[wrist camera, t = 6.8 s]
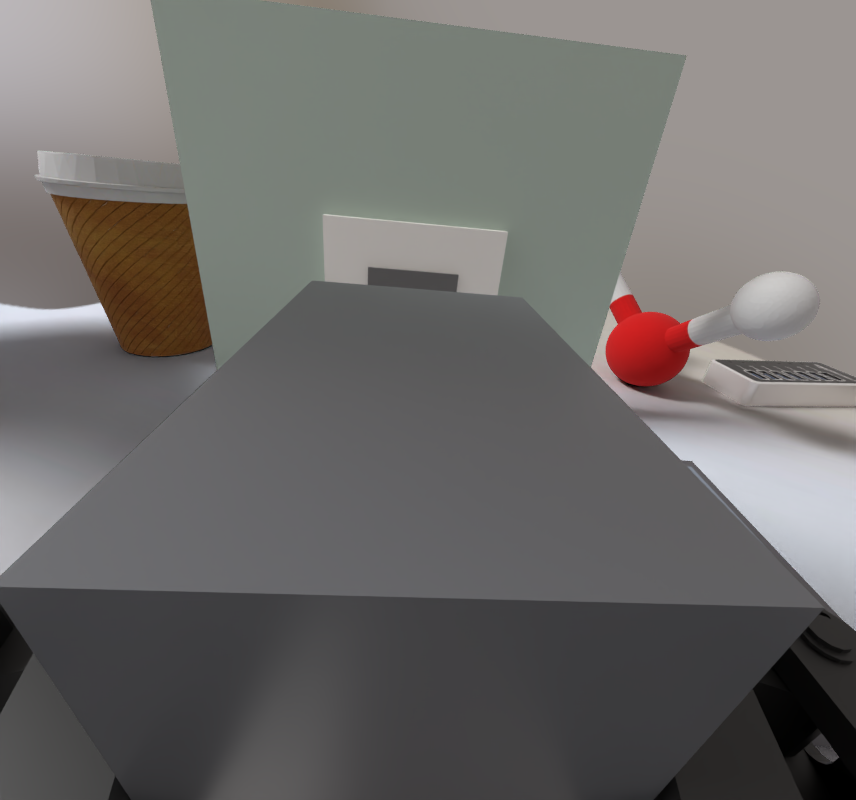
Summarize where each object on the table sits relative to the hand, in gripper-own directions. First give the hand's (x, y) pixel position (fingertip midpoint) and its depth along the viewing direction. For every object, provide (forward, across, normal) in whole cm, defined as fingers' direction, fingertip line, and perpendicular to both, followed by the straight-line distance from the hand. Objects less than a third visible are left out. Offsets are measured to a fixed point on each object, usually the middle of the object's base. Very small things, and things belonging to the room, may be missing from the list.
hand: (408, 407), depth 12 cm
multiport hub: (+17, +30, -7) cm, 35 cm away
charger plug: (-5, 0, -6) cm, 8 cm away
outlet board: (+13, 0, -6) cm, 15 cm away
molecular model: (+17, +18, -6) cm, 25 cm away
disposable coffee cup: (+19, -18, -6) cm, 27 cm away
